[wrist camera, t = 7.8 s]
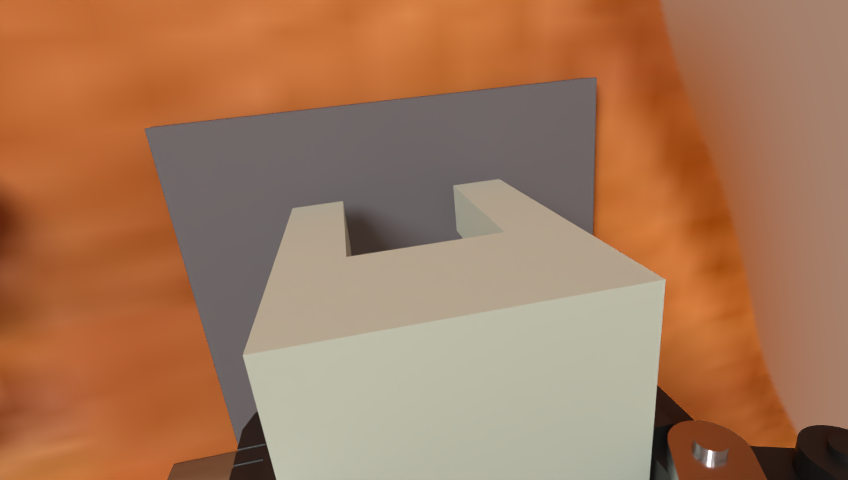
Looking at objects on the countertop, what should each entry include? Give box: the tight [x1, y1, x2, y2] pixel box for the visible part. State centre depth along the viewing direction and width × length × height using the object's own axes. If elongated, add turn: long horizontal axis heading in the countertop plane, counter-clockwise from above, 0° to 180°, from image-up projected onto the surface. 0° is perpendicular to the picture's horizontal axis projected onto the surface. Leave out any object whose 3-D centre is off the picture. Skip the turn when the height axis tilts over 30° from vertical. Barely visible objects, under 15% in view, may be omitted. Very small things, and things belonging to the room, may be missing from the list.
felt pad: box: [145, 78, 597, 444], centre depth 16 cm, size 13×13×1 cm
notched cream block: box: [243, 179, 666, 480], centre depth 11 cm, size 6×8×8 cm
